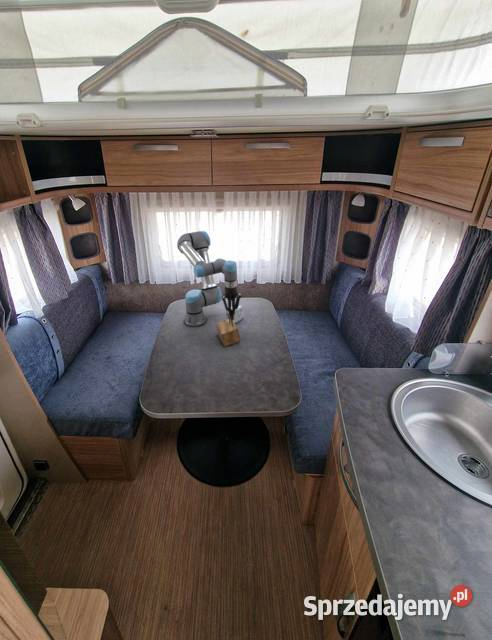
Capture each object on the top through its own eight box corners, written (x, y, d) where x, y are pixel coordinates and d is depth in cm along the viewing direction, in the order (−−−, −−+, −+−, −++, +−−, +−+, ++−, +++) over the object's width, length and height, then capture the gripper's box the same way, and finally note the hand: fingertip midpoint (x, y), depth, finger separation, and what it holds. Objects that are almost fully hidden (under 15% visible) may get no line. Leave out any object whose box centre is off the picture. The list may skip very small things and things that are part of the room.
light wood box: (224, 346, 180) (219, 325, 172) (218, 335, 192) (213, 314, 184) (240, 340, 183) (236, 319, 175) (233, 329, 194) (228, 309, 186)
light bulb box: (236, 315, 214) (235, 303, 209) (242, 318, 209) (242, 306, 205) (226, 321, 207) (225, 308, 202) (232, 324, 202) (232, 311, 198)
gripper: (222, 290, 167) (224, 324, 177) (243, 286, 171) (243, 319, 180) (218, 285, 173) (220, 318, 183) (238, 281, 177) (239, 314, 187)
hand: (232, 318), depth 182 cm, fingers closed
